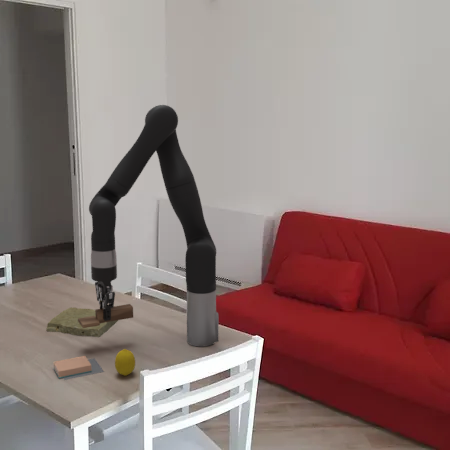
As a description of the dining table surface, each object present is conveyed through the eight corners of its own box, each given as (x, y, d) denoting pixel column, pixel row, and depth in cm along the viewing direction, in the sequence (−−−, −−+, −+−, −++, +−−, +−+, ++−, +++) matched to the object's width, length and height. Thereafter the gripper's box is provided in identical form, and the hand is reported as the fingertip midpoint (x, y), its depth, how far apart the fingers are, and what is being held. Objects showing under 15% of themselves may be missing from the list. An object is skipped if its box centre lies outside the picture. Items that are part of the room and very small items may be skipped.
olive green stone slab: (68, 314, 209) (68, 305, 209) (121, 319, 205) (120, 309, 205) (42, 334, 191) (42, 324, 191) (99, 339, 187) (99, 329, 187)
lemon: (136, 371, 164) (135, 344, 162) (134, 380, 158) (133, 353, 157) (116, 371, 163) (116, 345, 162) (113, 380, 158) (112, 353, 156)
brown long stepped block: (134, 319, 178) (134, 308, 178) (83, 328, 171) (82, 317, 170) (128, 313, 184) (128, 302, 183) (78, 321, 176) (77, 310, 176)
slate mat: (94, 359, 171) (94, 358, 171) (104, 372, 163) (104, 371, 163) (56, 366, 166) (56, 365, 166) (64, 381, 158) (64, 379, 158)
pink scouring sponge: (85, 355, 168) (53, 361, 164) (91, 365, 162) (58, 371, 158) (85, 362, 168) (53, 368, 164) (91, 371, 162) (59, 378, 158)
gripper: (123, 268, 169) (124, 323, 173) (109, 256, 181) (110, 309, 185) (97, 271, 166) (99, 327, 169) (85, 259, 178) (87, 312, 182)
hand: (105, 317), depth 177 cm, fingers closed on brown long stepped block, 3 cm apart
